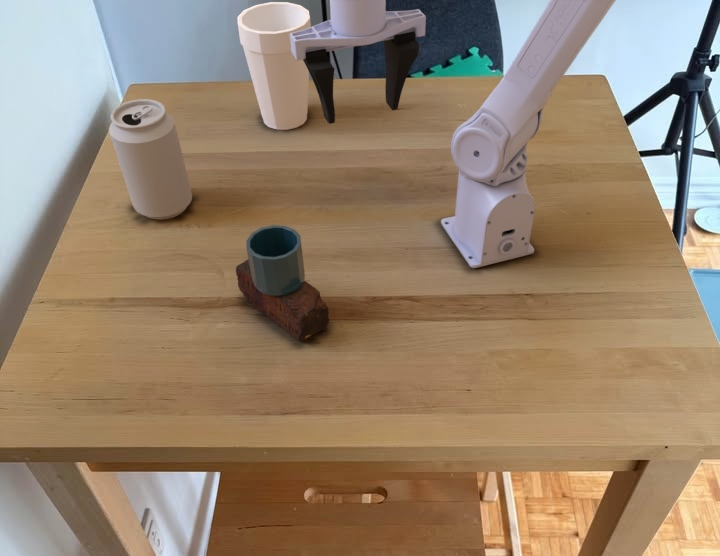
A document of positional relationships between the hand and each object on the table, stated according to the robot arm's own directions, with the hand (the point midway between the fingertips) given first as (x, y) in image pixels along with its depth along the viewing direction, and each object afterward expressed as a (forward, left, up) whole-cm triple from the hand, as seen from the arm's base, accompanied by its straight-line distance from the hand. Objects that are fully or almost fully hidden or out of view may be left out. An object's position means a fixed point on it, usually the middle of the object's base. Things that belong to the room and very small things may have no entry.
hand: (360, 112), depth 82 cm
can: (+7, +24, -11) cm, 27 cm away
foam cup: (+22, +4, -11) cm, 25 cm away
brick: (-18, +15, -11) cm, 26 cm away
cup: (-18, +15, -6) cm, 24 cm away
